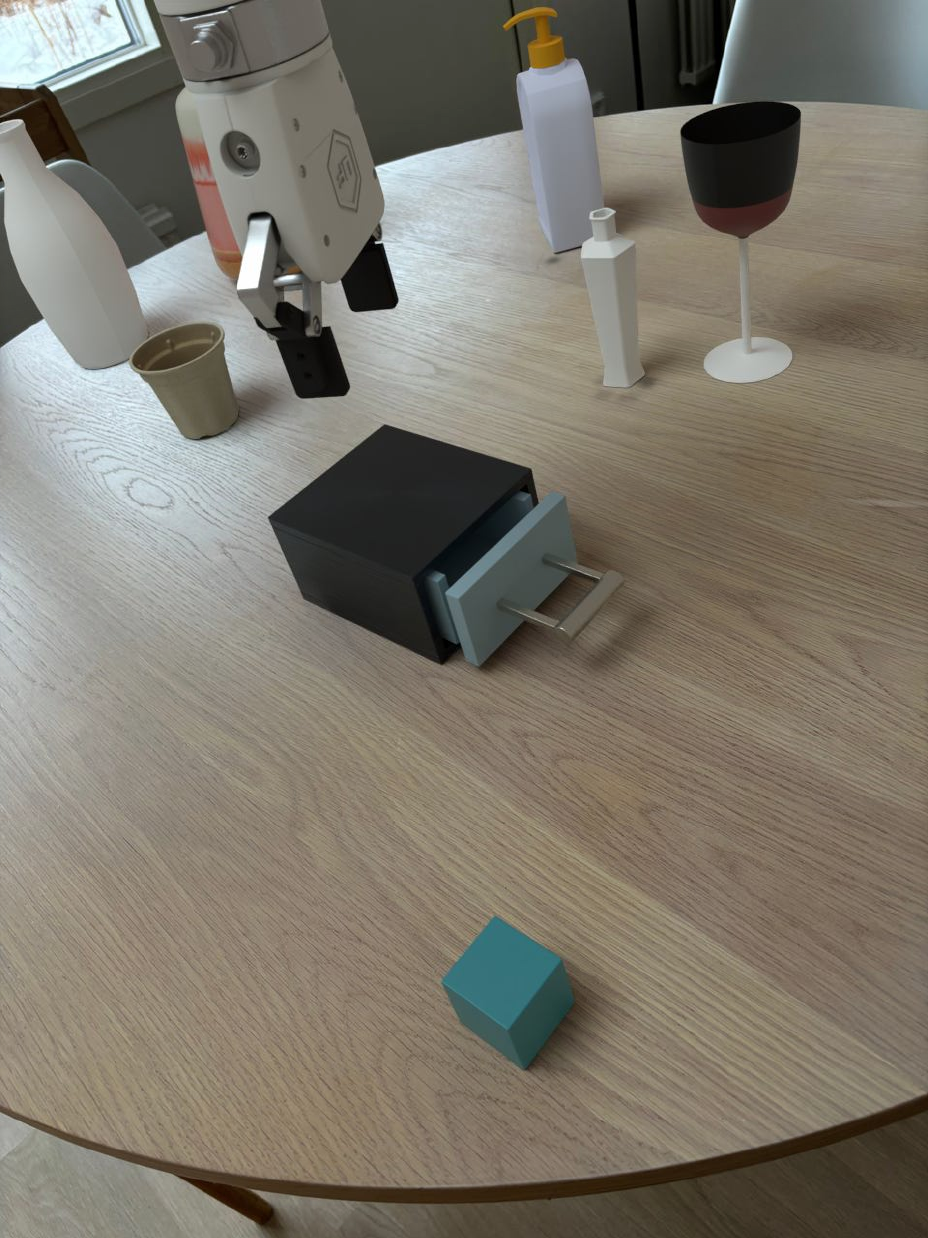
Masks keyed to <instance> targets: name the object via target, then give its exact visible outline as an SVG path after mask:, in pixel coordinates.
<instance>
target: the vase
mask: <svg viewBox="0 0 928 1238" xmlns="http://www.w3.org/2000/svg"><path fill="white" fill-rule="evenodd" d="M194 95H195V93H193V92H190V91H188V90H187V88H186V86H184V87H183V88H182V90H181V91H180V92H179V93H178V95H177V97H176V100H175V107H174V108H175V114H176V119H177V124H178V127H179V132H180V135H181V139H182V143H183V147H184V150H185V154H186V158H187V162H188V166H189V170H190V173H191V177H192V182H193V186H194V190H195V193H196V198H197V201H198V205H199V208H200V212H201V216H202V221H203V224H204V228H205V233H206V236H207V239H208V243H209V246H210V249H211V252H212V255H213V258H214V261H215V263H216V265H217V267H218V268H219V270H220V272H222V273H223V274H224V275H225V276H226V277H227V278H229V279H230V280H233V281H236V282H238V278H239V273H240V268H241V263H242V258H243V257H242V255H241V252H240V250H239V247H238V245H237V242H236V239H235V237H234V234H233V231H232V228H231V226H230V223H229V220H228V217H227V214H226V211H225V208H224V205H223V202H222V199H221V196H220V193H219V189H218V186H217V183H216V180H215V176H214V173H213V170H212V166H211V163H210V159H209V156H208V152H207V149H206V145H205V141H204V137H203V133H202V129H201V125H200V121H199V117H198V112H197V108H196V104H195V100H194ZM293 273H302V270H301V269H300V268H299V267H290V268H289V270H288V271H287V272H286V274H293Z"/></svg>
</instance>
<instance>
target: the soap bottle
mask: <svg viewBox="0 0 928 1238" xmlns="http://www.w3.org/2000/svg"><path fill="white" fill-rule="evenodd" d="M549 16H550V17H553V18H554V17H555V18H558V12H557V11H556V10H555V9H554V8H551V7H546V6H539V7H533V8H531V9H527V10H524V11H522V12H519V13H517V14H515V15H514V16H513V17H511V18H510V19H509V20H508V21H507V22H506V23H505V24H503V25H502V27H503V29H504V30H505V32H507V31H508V30H509V29H510V28H512V27H513V26H515V25H516V24H518V23H519V22H521V21H524V20H527V19H530V18H534V23H535V24H534V25H535V30H536V36H537V39H533V40H531V41H530V42H529V43H528V44H527V51H528V57H529V64H530V67H529V69H528V70H525V71H522V72H520V73H518V74H517V75H516V80H515V81H516V94H517V101H518V107H519V112H520V120H521V124H522V130H523V136H524V141H525V142H524V143H525V147H526V153H527V159H528V165H529V171H530V176H531V182H532V188H533V189H532V190H533V194H534V195H533V196H534V200H535V201H534V202H535V206H536V212H537V218H538V223H539V226H540V228H541V230H542V233H543V234H544V236H545V238H546V241H547V242H548V245H549V246H550V248H551V250H552V252H553V253H555V254H556V253H560V252H564V251H567V250H572V249H575V248H578V247H582V244H583V243H584V242H585V241H587V240H588V239H590V238H592V237H593V230H592V222H591V220H590V219H589V217H590V212H592V211H595V210H599V209H602V208H605V202H604V201H605V199H604V192H603V185H602V177H601V170H600V161H599V153H598V144H597V138H596V128H595V122H594V121H595V120H594V111H593V106H592V105H593V104H592V100H591V93H590V89H589V85H588V82H587V77H586V76H585V73H584V69H583V66H582V65H581V62H580V61H579V59H576V58H574V57H573V58H567V57H566V56H565V49H564V42H563V36H561V35H557V34H555V35H551V30H550V23H549Z"/></svg>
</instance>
